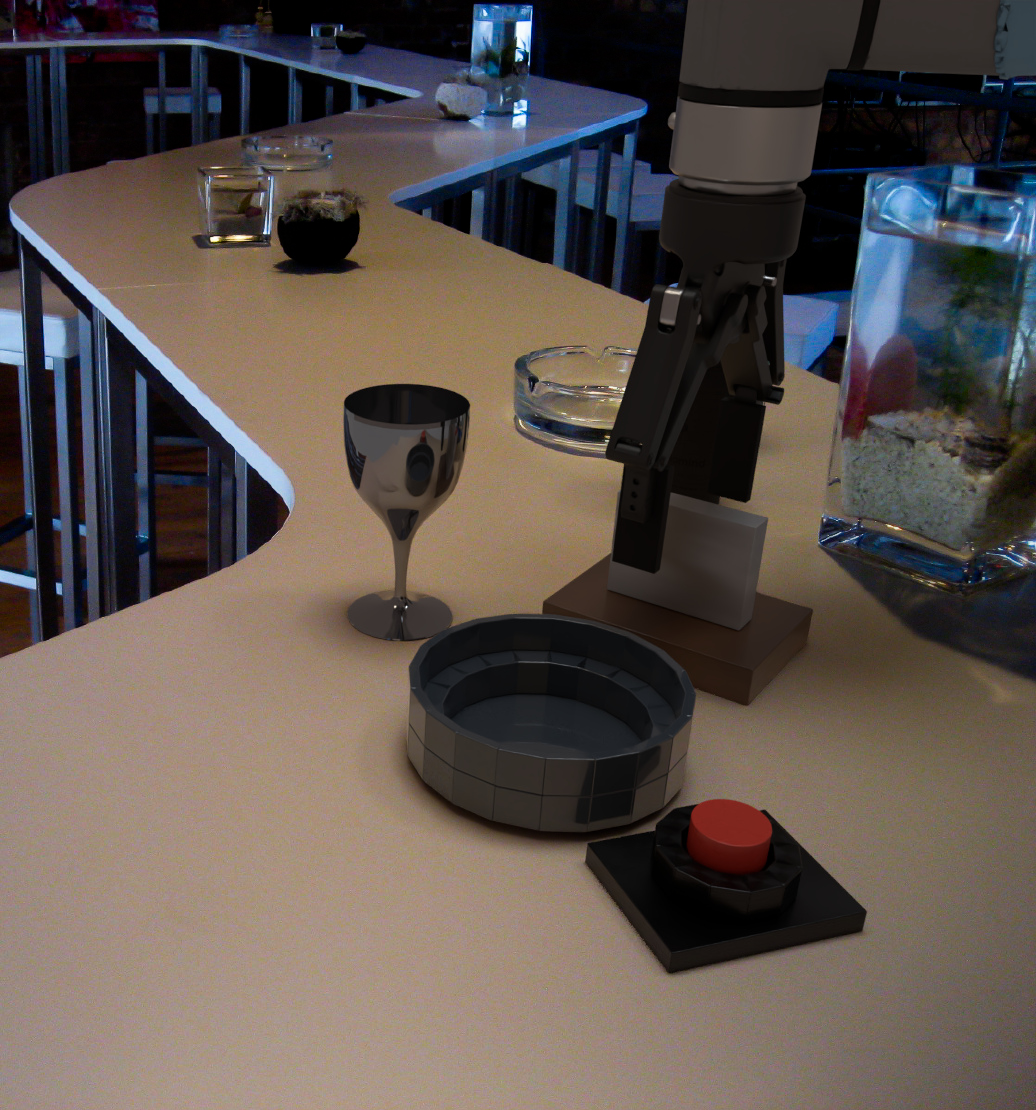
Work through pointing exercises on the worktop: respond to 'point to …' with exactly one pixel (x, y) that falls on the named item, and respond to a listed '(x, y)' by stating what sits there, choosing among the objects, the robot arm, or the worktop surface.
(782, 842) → the switch
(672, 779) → the basin
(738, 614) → the block
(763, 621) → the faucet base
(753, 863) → the button
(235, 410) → the worktop surface
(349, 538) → the worktop surface
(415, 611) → the wine glass
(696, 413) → the drinking cup
